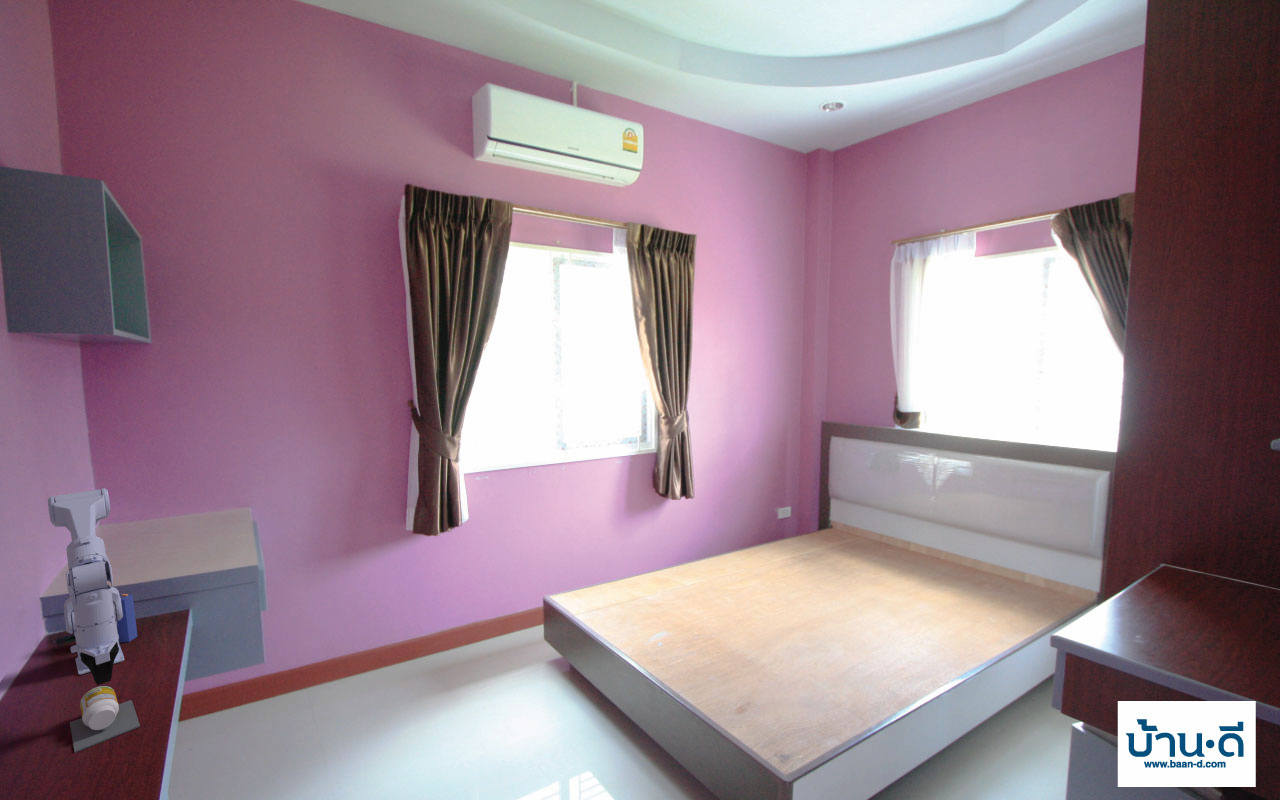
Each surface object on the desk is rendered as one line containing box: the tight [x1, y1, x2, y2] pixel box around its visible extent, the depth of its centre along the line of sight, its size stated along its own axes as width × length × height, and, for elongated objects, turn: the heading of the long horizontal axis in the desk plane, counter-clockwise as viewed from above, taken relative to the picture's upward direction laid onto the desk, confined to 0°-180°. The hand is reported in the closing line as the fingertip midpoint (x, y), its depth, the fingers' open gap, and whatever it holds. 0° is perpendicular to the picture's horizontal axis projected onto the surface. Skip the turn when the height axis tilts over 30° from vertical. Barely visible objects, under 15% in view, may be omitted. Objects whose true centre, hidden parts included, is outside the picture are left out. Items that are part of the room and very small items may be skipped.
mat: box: [69, 699, 141, 754], centre depth 115 cm, size 12×10×1 cm
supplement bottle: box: [79, 685, 119, 730], centre depth 115 cm, size 5×5×10 cm
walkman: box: [117, 593, 138, 643], centre depth 145 cm, size 8×3×12 cm, turn 96°
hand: (103, 681), depth 116 cm, fingers closed
